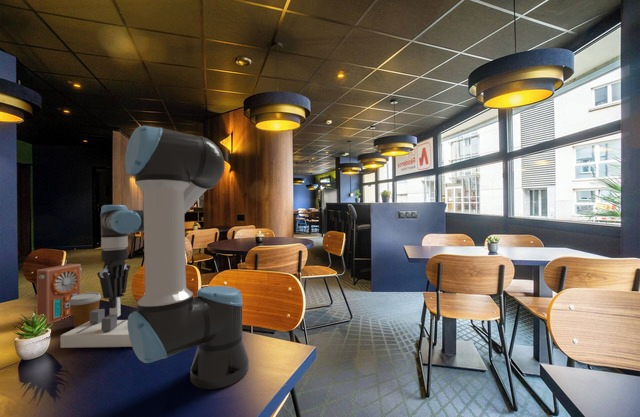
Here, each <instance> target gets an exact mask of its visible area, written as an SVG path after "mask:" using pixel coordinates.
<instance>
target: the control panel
mask: <svg viewBox="0 0 640 417" xmlns="http://www.w3.org/2000/svg"><path fill="white" fill-rule="evenodd" d="M81 266H82V265H81V263H69V264H63V265H57V266H52V267H46V268H41V269H40V268H39V269H37V271H36V316H37V315H40V314H44V315H46V316H47V324H48V325H51V324H53V323H52V322H54V323H56V322H59V321H62V320H64V318H65V319H68V318H70V317H69V316H71V315H72V309H71V305H70V303H69V301H70V299H71V297H73V296H76V295H79V294H82V293H81V291H82V290H81V286H82V285H81V284H82V283H81V280H82V279H81V272H82V270H83V268H82V267H81ZM67 317H68V318H67ZM71 317H72V316H71ZM61 319H62V320H61Z"/></svg>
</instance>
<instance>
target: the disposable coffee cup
mask: <svg viewBox="0 0 640 417" xmlns="http://www.w3.org/2000/svg"><path fill="white" fill-rule="evenodd" d="M102 297H103V295H101V293H100V292H97V291H95V292H84V293H81V294H79V295H76V296H73V297H71V299H70V301H69V303H70V305H71V309H72V315H73V316H72V321H73V326H74V329H75V328H77V327H79V326H81V325H83V324H85V323H87V322H89V321H90V312H91V311H93V310H95V309H100V302H101V298H102Z"/></svg>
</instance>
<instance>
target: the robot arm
mask: <svg viewBox="0 0 640 417" xmlns="http://www.w3.org/2000/svg"><path fill="white" fill-rule="evenodd" d="M124 156H125V157H124V168H125V172H126V173H127V174H128V175H129V176H135V177H134V182H135V185H136V186H137V187H139V188H140V190H142V196H143V198H142V199H143V202H142V203H143V204H142V205H143V209H128V207H127V205H125V204H104V205H102V206H101V209H100V210H101V211H100V214H99V216H100V237H101V238H100V240H101V241H100V248H101V249H102V250H101V251H100V260H101V262H104V263H103V268H102V269H103V270H101V271H98V272H97V274H96V275H97V277H98V279H99V282H100V288H101V292H102V297H103V299H106V300H107V299H108V308H109V315H117V318H119V317H120V316H121V309H122V308H121V305H122V303H121V302H122V297H125V293H126V291H127V284H128V278H129V271H130V269H131V265H129V264H128V265H127V264H126V260H127V259H128V258H129V250H128V247H129V236H128V235H129V234H131V233H143V247H144V248H143V251H144V252H143V253H144V254H143V255H144V257H143V258H144V294H142V296H141V298H139V299H138V300H137V304H136V305H137V310H135V311H132V312H131V313H129V315H128V317H127V320H128V322H127V324H128V332H129V337H130V341H131V344H132V347H131V348H132V349H133V351H134V353H135V355H136V357H137V358H138V360H139V361H140V362H142V363H144V364H150V363H154V362H157V361H159V360H162V359H163V360H164V359H167V358H168V357H171V356H174V355H176V354H178V353H181V352H184V351H185V350H189V349H191V348H193V347H195V346H196V347H197V348H196V352H195V355H194V357H193V361H192V364H191V367H190V372H189V374H190V377H189V379H190V382H191V384H192V385H193V386H194V387H195V388H199V389H203V390H217V389H222V388H226V387H229V386H232V385H233V384H236V383H237V382H239V381H240V380H242V379H243V378H244V377H245V376H246V375H247V373H248V372H249V366H250V365H249V364H250V363H249V355H248V352H247V351H246V347H245V344H244V342H243V306H244V304H243V296H242V292H241V291H240V290H239V288H235V287H231V286H222V285H214V286H213V285H212V286H211V285H210V286H204V287H201V288H199V289H198V290H197V292H196V296H195V297H194V293H193V291H191V290H190V289H189V288H188V287H187V272H186V269H187V268H186V265H187V264H186V234H185V233H186V231H185V230H186V229H185V228H186V226H185V214H186V213H187V212H188V211H189V210H190V209H191V208H192V206H194V204H196V202H197V201H198V200H199V199H200V198H201V197H202V196H203V194H204V193H205V192H207V190H211V189H213V188H214V187H215V186H217V184H218V183H219V182H220V181H221V180H222V177H223V175H224V173H225V164H226V163H225V158H224V156H223V152H222V151H221V150H220V147H219V146H217V144H215V142H213V141H212V140H210V138H209V139H208V138H207V137H204V136H201V135H195V134H189V133H185V132H181V131H175V130H171V129H166V128H163V127H159V126H158V127H155V126H149V125H140V126H138V127H136V128H135V129H134V131H133V132H132V134H131V136H130V137H129V139H128V142H127V147H126V151H125V155H124Z"/></svg>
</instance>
